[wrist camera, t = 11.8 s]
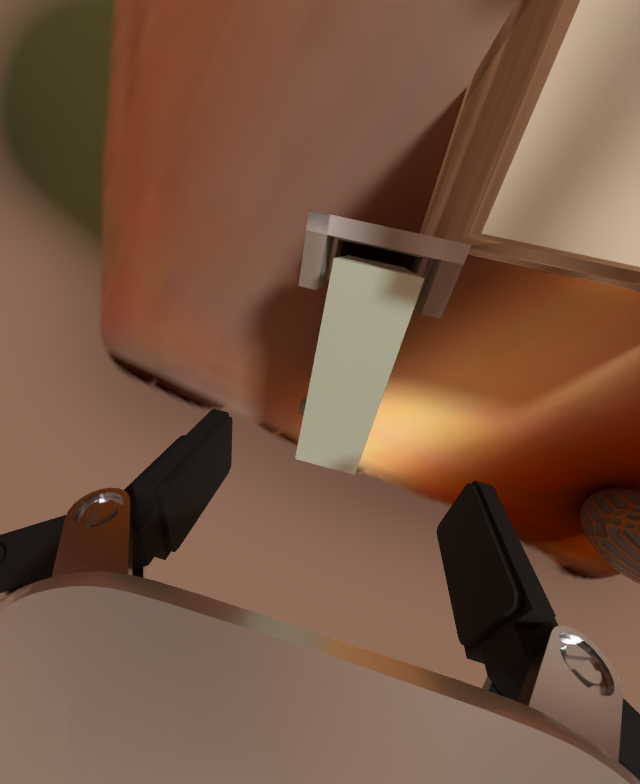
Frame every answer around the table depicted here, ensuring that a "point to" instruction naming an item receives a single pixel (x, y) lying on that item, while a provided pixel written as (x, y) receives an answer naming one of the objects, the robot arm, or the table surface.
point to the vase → (614, 528)
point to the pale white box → (354, 358)
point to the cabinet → (528, 160)
